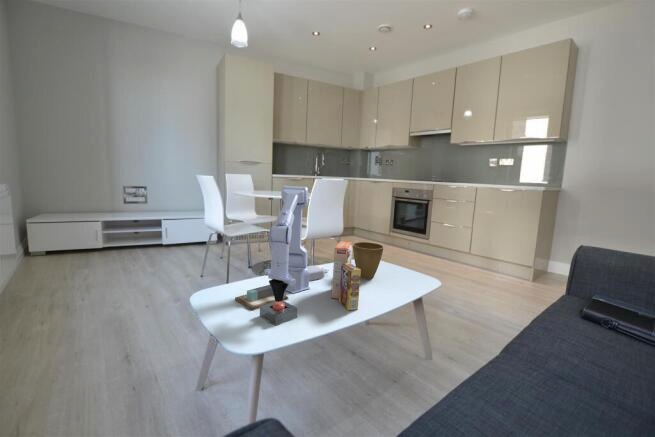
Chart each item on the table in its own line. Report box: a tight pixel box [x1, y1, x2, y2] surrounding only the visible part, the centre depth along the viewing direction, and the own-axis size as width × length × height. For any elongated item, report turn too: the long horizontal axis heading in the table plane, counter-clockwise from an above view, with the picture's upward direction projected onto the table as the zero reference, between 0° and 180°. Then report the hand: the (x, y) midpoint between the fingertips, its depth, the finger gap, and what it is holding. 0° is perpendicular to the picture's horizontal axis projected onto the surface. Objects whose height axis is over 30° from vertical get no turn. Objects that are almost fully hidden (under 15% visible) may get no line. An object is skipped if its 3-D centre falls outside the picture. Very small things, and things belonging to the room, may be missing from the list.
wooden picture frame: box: [234, 293, 289, 311], centre depth 120 cm, size 16×12×1 cm
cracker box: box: [331, 240, 354, 300], centre depth 129 cm, size 14×6×21 cm, turn 168°
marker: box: [246, 284, 274, 301], centre depth 120 cm, size 12×3×3 cm, turn 136°
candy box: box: [338, 263, 361, 311], centre depth 117 cm, size 9×4×15 cm, turn 21°
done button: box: [273, 302, 285, 311], centre depth 106 cm, size 4×4×2 cm
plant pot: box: [352, 241, 385, 280], centre depth 152 cm, size 15×15×16 cm
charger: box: [306, 265, 330, 282], centre depth 150 cm, size 5×9×15 cm
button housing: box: [259, 300, 298, 327], centre depth 106 cm, size 9×9×4 cm
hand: (278, 300), depth 105 cm, fingers closed
